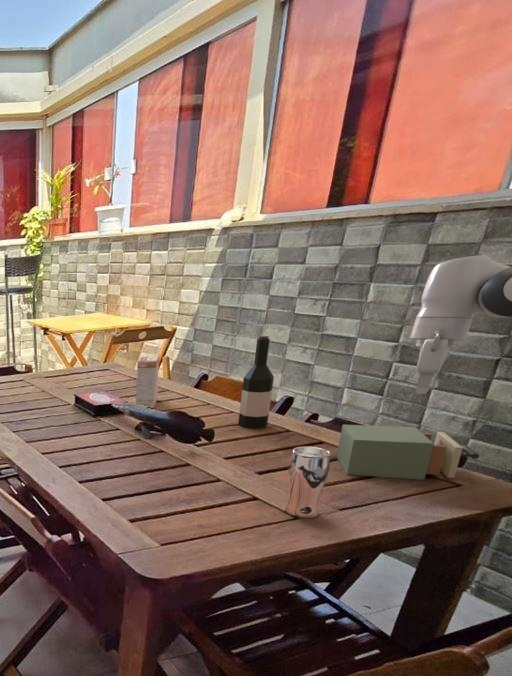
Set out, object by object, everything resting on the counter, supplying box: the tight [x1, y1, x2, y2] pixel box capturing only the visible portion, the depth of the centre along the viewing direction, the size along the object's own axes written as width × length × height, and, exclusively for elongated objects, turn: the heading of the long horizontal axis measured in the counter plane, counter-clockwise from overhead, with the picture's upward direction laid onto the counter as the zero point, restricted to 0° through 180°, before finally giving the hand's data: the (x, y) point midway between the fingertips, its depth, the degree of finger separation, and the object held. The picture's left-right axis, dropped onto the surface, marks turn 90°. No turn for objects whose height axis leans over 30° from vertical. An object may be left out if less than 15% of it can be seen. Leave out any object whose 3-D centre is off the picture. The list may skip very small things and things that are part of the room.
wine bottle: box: [237, 335, 275, 430], centre depth 162 cm, size 8×8×30 cm
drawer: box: [422, 431, 480, 479], centre depth 123 cm, size 18×11×8 cm, turn 61°
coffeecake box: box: [135, 353, 160, 408], centre depth 200 cm, size 15×7×20 cm, turn 150°
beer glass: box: [284, 445, 332, 519], centre depth 110 cm, size 7×7×15 cm
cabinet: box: [335, 424, 435, 481], centre depth 127 cm, size 15×13×10 cm
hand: (421, 392), depth 114 cm, fingers open, 8 cm apart
